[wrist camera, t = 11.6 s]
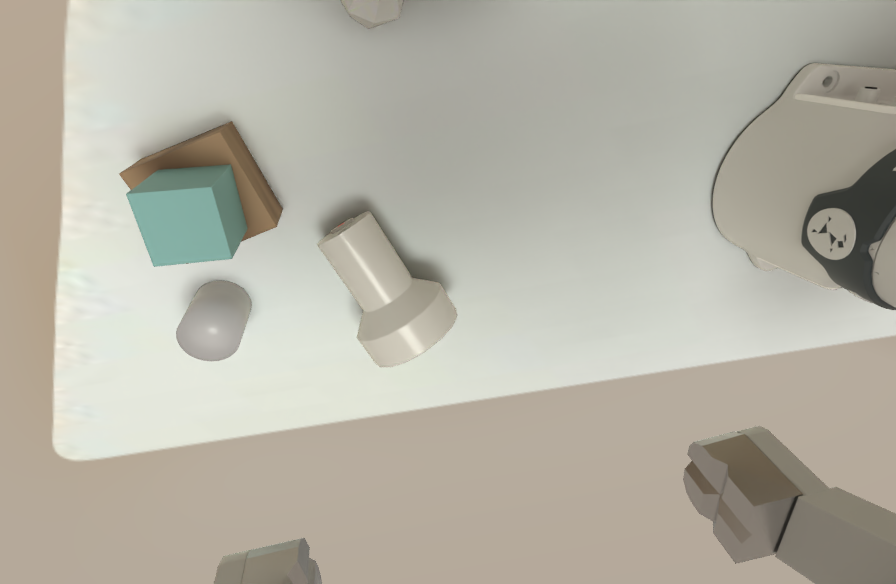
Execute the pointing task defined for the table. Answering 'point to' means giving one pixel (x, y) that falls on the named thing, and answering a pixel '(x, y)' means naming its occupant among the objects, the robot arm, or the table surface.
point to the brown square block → (212, 151)
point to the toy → (373, 11)
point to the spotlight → (387, 293)
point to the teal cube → (189, 214)
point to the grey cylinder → (214, 321)
